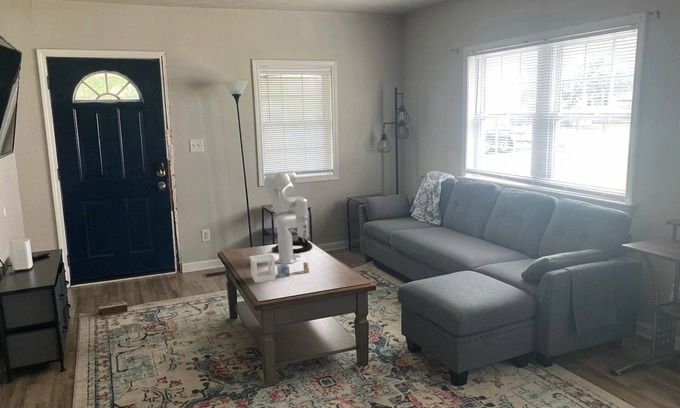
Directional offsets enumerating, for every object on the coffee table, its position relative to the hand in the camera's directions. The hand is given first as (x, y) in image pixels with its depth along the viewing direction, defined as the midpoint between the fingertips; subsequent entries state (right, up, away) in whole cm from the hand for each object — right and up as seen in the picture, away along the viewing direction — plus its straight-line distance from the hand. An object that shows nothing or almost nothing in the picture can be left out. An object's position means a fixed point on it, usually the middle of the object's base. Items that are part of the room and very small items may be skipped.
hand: (303, 245), depth 322 cm
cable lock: (-12, -8, +60) cm, 62 cm away
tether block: (-6, -17, -1) cm, 18 cm away
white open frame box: (-23, -19, -7) cm, 31 cm away
